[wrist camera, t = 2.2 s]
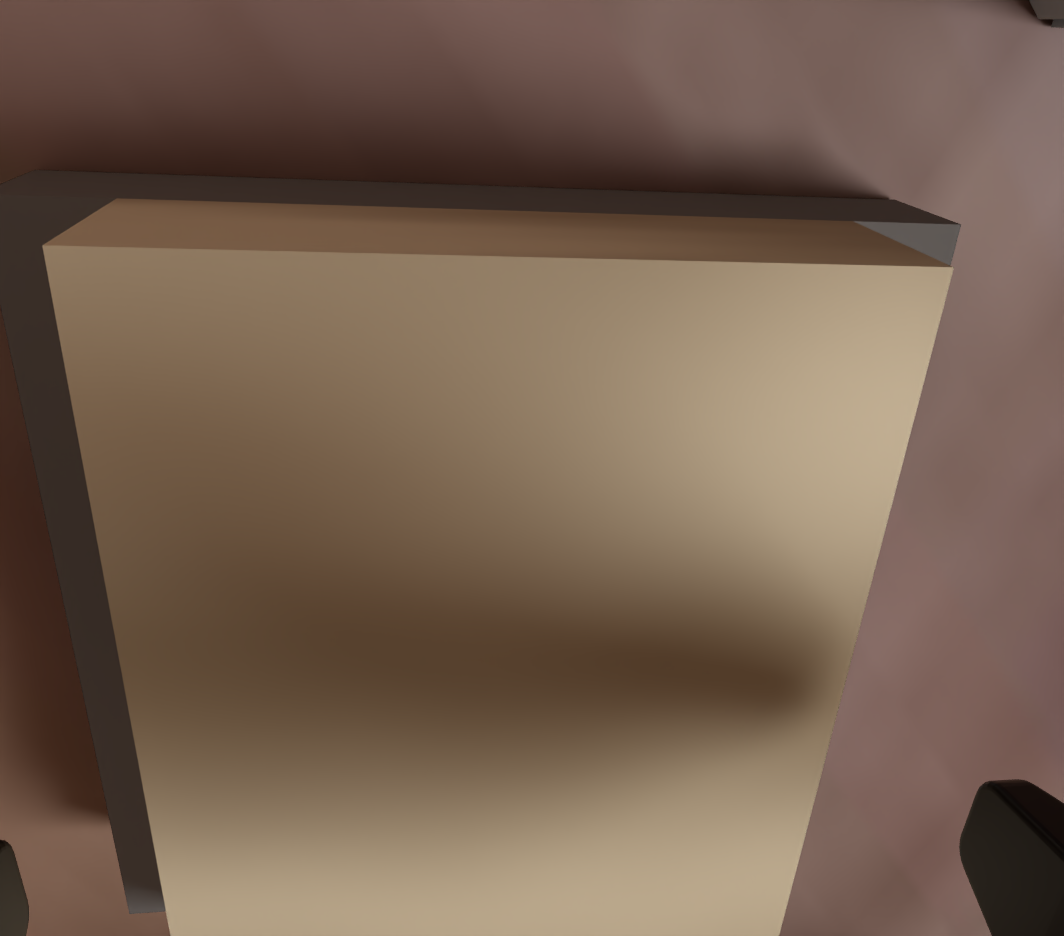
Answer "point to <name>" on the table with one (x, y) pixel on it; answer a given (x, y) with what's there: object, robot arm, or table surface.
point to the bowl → (1050, 11)
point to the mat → (27, 308)
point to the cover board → (485, 550)
